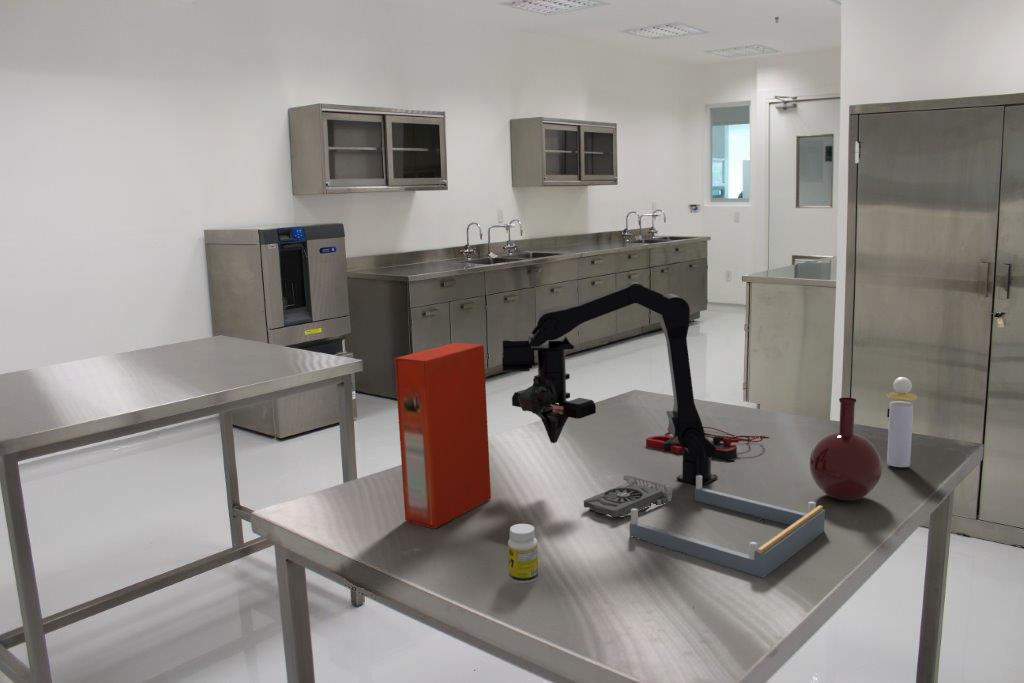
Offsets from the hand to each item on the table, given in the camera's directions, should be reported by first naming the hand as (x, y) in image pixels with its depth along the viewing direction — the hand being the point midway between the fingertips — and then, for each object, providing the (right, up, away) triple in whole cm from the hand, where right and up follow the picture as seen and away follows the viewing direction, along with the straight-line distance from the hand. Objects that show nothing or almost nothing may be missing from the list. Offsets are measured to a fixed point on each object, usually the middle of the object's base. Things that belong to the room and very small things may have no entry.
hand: (553, 442), depth 172 cm
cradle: (+29, -13, -26) cm, 41 cm away
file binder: (-21, -12, -11) cm, 27 cm away
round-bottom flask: (+57, -10, -12) cm, 58 cm away
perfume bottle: (+75, -6, +5) cm, 75 cm away
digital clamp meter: (+39, -4, +26) cm, 47 cm away
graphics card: (+13, -12, -11) cm, 20 cm away
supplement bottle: (-7, -17, -40) cm, 44 cm away
